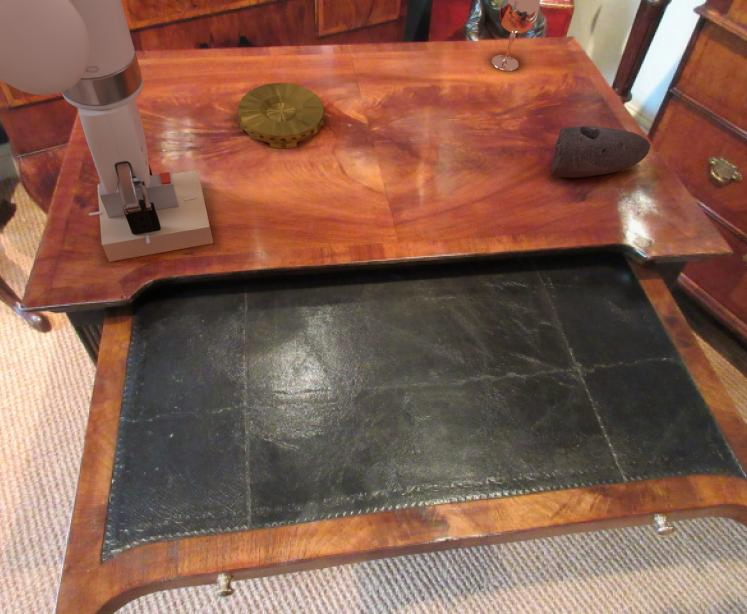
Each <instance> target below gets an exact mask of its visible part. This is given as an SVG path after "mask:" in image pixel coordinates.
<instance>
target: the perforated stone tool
mask: <svg viewBox="0 0 747 614" xmlns="http://www.w3.org/2000/svg"><path fill="white" fill-rule="evenodd" d="M650 150H651V143H650V142H649V140H647V138H645V137H644V136H642V135H640V134H638V133H636V132H632V131H629V130H626V129H619V128H611V127H602V126H590V125H582V126H570V127H561V128H560V130H559V133H558V137H557V139H556V142H555V144H554V155H553V156H552V159H551V172H552V175H553V176H554V177H561V178H573V179H574V178H575V179H577V178H586V177H596V176H602V175H607V174H613V173H618V172H622V171H624V170H627V169H630V168H631V167H634V166H635V165H637V164H639V163H640V162H641V161H643V160H644V159H645V158H646V157H647V156H648V155H649V152H650Z"/></svg>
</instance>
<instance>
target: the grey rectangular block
mask: <svg viewBox="0 0 747 614" xmlns="http://www.w3.org/2000/svg"><path fill="white" fill-rule="evenodd" d="M172 174H173V173H172V172H170V171H165V172H160V173H158V174H152V175H151V176H150V180H151V183H150V184H149V186H148V187H147V191H148V195H149V199H150V203H154V206H155V209H156V210H159V209H165V208H171V207H177V206H179V203H178V197H177V193H176V189H175V185H174V182H173V178H172ZM133 179H134V182H135V181H139V180H138V179H137V178H133ZM98 185H99V195H100V198H101V200H102V203H103V205H104V208H105V210H106V212H107V215H108V217H109V218H110V217H116V216H122V215H125V213H124V211H123V204H122V201H121V197H120V193H119V190H118V186H117V190H116V192H115V193H109V194H108V193H107V192H105V191H104V190H103V187H102V184H101V182H99V183H98ZM136 192H137V196H138V198H139V200H141V199H142V200H144V199H143V195H142V191H141V188H139V189H136Z"/></svg>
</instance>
